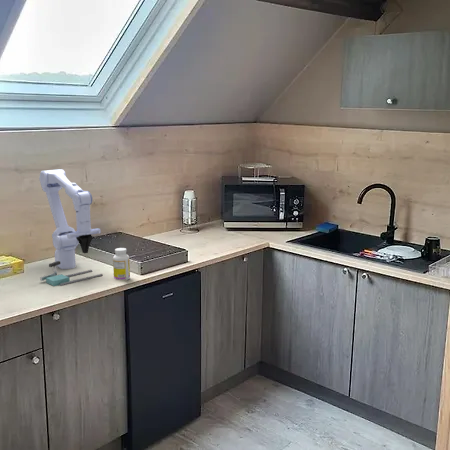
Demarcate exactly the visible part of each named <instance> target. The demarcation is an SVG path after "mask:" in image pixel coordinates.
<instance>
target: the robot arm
mask: <svg viewBox="0 0 450 450" xmlns="http://www.w3.org/2000/svg"><path fill="white" fill-rule="evenodd" d="M38 179H39V180H38V181H39V184H40V186H41V188H42V191H43V192H45V196H46V198H47V201H48V205H49V208H50V212H51V214H52V219H53V221H54V225H55V228H56V229H55V230H54V231H53V232H52V234H51V237H52V238H51V239H52V245H53V247H54V249H55V250H54V251H55V252H54V262H56V261H60V264H59V265H57V268H58V269H60V270H69V269H74V268H76V266H77V265H76V263H77V262H76V249H77V247H78V245H80V248H81V251H82V253H83V254H89V253H88V252H89V248H90V245H91V242H92V240H93V238H94V236H93V235H96V234H100V235H101V233H102V231H101V228H92V224H91V223H92V222H91V220H92V219H91V205H92V203H93V196H92V193H91V192H90V191H89V190H83V189H82V188H81V187H80V186H79V185H78V184H77V183H76V182H72V181H70V180H69V179H68V177H67V173H66V171H65V170H64V169H63V168H60V169H59V168H58V169H48V170H41V171H40V172H39V178H38ZM62 189H64V192H65V195H67V196H68V197H69V198H70V199H71V200H72V204H73V209H74V211H75V219H76V222H75V223H76V230H75V228H74V227H72V226H70V225H69V224H68V221H67V217H66V213H65V210H64V208H63V205H62V204H63V203H62V201H61V198H60V194H59V191H60V190H62Z"/></svg>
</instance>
